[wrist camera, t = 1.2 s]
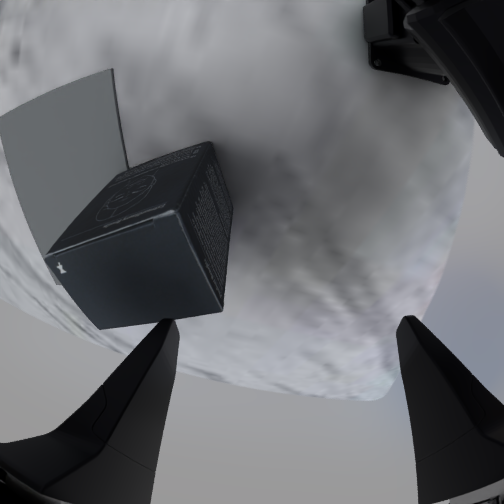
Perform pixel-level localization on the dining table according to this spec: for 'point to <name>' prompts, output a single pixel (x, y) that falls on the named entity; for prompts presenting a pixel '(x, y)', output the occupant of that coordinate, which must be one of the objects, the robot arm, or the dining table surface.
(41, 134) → the mat
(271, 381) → the dining table surface
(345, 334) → the dining table surface
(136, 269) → the box
